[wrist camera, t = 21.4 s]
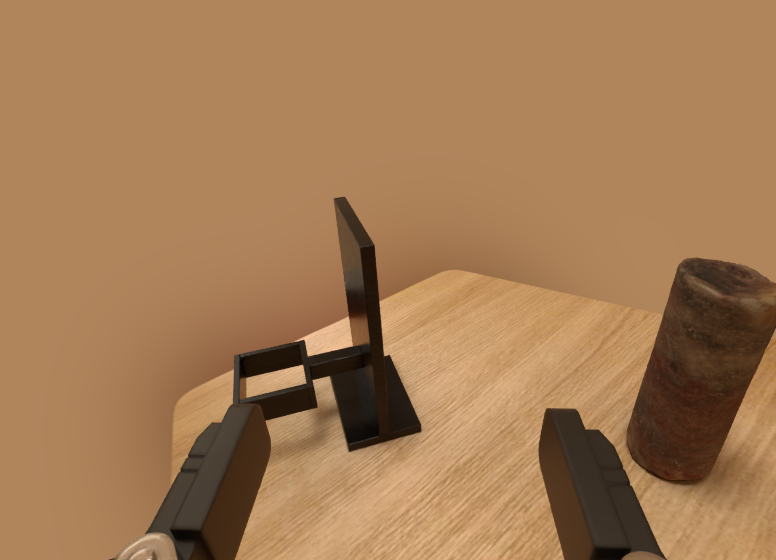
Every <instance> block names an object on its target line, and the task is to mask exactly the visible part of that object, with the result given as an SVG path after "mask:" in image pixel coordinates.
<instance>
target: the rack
mask: <svg viewBox="0 0 776 560" xmlns="http://www.w3.org/2000/svg"><path fill="white" fill-rule="evenodd" d="M334 204H335V212H336V219H337V227H338V235H339V243H340V250H341V258H342V265H343V274H344V281H345V288H346V296H347V304H348V312H349V319H350V327H351V335H352V342H353V347H348V348H344V349H339V350H335V351H331V352H326V353H322V354H318V355H313V356H309V357H308V355H307V350H306V345H305V340H302V341H298V342H293V343H289V344H284V345H280V346H275V347H271V348H266V349H262V350H257V351H253V352H248V353H244V354H239V355H235V356H234V390H233V404H259V405H260V406H261V408H262V412H263V415H264V418H265V421H266V420H270V419H274V418H278V417H282V416H286V415H290V414H294V413H298V412H302V411H305V410H309V409H314V408H317V407H318V406H317V401H316V396H315V391H314V386H313V381H312V380H315V379H319V378H323V377H327V376H330V378H331V382H332V386H333V390H334V394H335V398H336V402H337V406H338V410H339V414H340V418H341V422H342V426H343V430H344V434H345V438H346V442H347V446H348V450H349V451H352V450H355V449H359V448H363V447H366V446H370V445H373V444H377V443H380V442H384V441H388V440H391V439H395V438H398V437H402V436H405V435H409V434H413V433H416V432H420V431H421V424H420V421H419V419H418V417H417V415H416V412H415V410H414V408H413V406H412V404H411V401H410V399H409V397H408V395H407V392H406V390H405V388H404V386H403V384H402V381H401V379H400V377H399V375H398V372H397V370H396V368H395V366H394V364H393V361H392V359H391V357H390V355H388V356H384V351H383V339H382V327H381V315H380V304H379V293H378V280H377V269H376V257H375V245H374V244H373V242H372V240H371V239H370V237H369V235H368V234H367V232H366V230H365V229H364V227H363V225H362V224H361V222H360V221H359V219H358V217H357V216H356V214H355V212H354V211H353V209H352V208H351V206H350V204H349V203H348V201H347V199H346V198H345V197H340V198H335V199H334ZM299 365H303V366H304V372H305V377H306V383H307V384H303V385H299V386H294V387H290V388H286V389H282V390H278V391H274V392H270V393H265V394H261V395H257V396H253V397H249V398H246V378H248V377H252V376H256V375H260V374H265V373H269V372H273V371H278V370H282V369H286V368H291V367H295V366H299Z"/></svg>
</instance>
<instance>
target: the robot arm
mask: <svg viewBox="0 0 776 560" xmlns="http://www.w3.org/2000/svg"><path fill="white" fill-rule="evenodd" d="M270 452H271V440H270V435H269V432H268V429H267V425H266V422H265V418H264V415H263V412H262V408H261V406H260V405H259V404H232V405H231V406H230V407H229V408H228V410H227V412H226V414H225V416H224V418H223V420H222V422H221V423H211V424H210V425H209V426H208V427H207V428H206V429H205V430H204V431H203V432H202V433H201V434H200V435H199V436H198V437H197V439H196V441H195V443H194V445H193V447H192V448H191V450H190V452H189V454H188V458H186V460H185V462H184V464H183V465H182V467H181V472H180V473H178V475H177V477H176V479H175V480H174V482H173V484H172V486H171V488H170V490H169V492H168V494H167V496H166V497H165V499H164V502H163V503H162V505H161V507H160V509H159V511H158V513H157V515H156V516H155V518H154V520H153V522H152V524H151V526H150V527H149V529H148V531H147V532H146V533H145V535H143V536H140V537H138V538H136V539H135V540H133V541H132V542H130V543H129V544H128V545H126V546H125V547H124V548H123V549H122V550H121V551H120V552H119V554H118V555H117V556H116V557H115V558H113V559H110V560H235V557H236V554H237V552H238V549H239V546H240V543H241V540H242V537H243V534H244V531H245V528H246V525H247V522H248V520H249V517H250V514H251V511H252V508H253V505H254V502H255V499H256V496H257V493H258V490H259V487H260V485H261V482H262V479H263V476H264V473H265V470H266V467H267V464H268V461H269V457H270ZM539 462H540V467H541V472H542V475H543V479H544V483H545V487H546V491H547V494H548V498H549V502H550V506H551V510H552V514H553V517H554V521H555V525H556V529H557V533H558V536H559V540H560V544H561V548H562V552H563V556H564V559H565V560H667V559H666V558H665V556H664V555H663V553H662V552H661V550H660V548H659V546H658V544H657V541H656V539H655V537H654V535H653V533H652V530H651V528H650V526H649V524H648V521H647V519H646V517H645V515H644V512H643V510H642V508H641V506H640V503H639V501H638V499H637V497H636V494H635V492H634V490H633V488H632V486H630V481H629V479H628V476H627V474H626V472H625V470H623V465H622V463H621V461H620V458H619V456H618V454H617V452H616V449H615V447H614V446H613V445H612V444H611V443H610V441H609V440H608V439H607V438H606V437H605V436H604V435H603V434H602V433H601V432H600V431H599V430H585V428H584V425H583V422H582V420H581V417H580V415H579V413H578V411H577V410H576V409H557V408H547V409H546V411H545V414H544V420H543V425H542V430H541V436H540V441H539Z"/></svg>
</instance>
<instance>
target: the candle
mask: <svg viewBox="0 0 776 560" xmlns="http://www.w3.org/2000/svg"><path fill="white" fill-rule="evenodd" d="M775 328H776V283H774V282H771V281H770V280H769V279H767V278H766V277H764V276H763V275H761V274H760V273H759V272H758V271H756V270H754V269H751V268H749V267H748V266H745V265H741V264H735V263H730V262H723V261H718V260H708V259H701V258H687V259H685V260H683V261H682V262H681V263H680V264H679V266H678V268H677V272H676V275H675V278H674V281H673V285H672V288H671V291H670V295H669V298H668V302H667V305H666V308H665V311H664V314H663V318H662V322H661V325H660V328H659V331H658V334H657V337H656V341H655V344H654V348H653V350H652V353H651V357H650V360H649V363H648V365H647V369H646V372H645V375H644V378H643V381H642V384H641V387H640V390H639V393H638V396H637V399H636V403H635V406H634V409H633V412H632V416H631V419H630V422H629V426H628V429H627V439H628V444H629V448H630V453H631V455H632V456H633V458H634V459H635V460H636V461H637V462H638V463H639V464H640V465H641V466H642V467H644V468H646V469H647V470H649V471H652V472H654V473H655V474H657V475H659V476H661V477H663V478H666V479H668V480H679V479H683V480H687V479H701V478H702V477H703V476H705V475H707V474H708V473H709V472H710V471H711V469H712V468H713V466H714V463H715V461H716V459H717V457H718V455H719V453H720V451H721V448H722V446H723V444H724V442H725V440H726V437H727V435H728V433H729V430H730V428H731V426H732V423H733V421H734V419H735V416H736V414H737V412H738V409H739V407H740V405H741V403H742V400H743V398H744V396H745V393H746V391H747V389H748V387H749V384H750V382H751V380H752V378H753V376H754V374H755V372H756V370H757V368H758V366H759V363H760V361H761V359H762V357H763V354H764V351H765V349H766V348H767V346H768V344H769V342H770V339H771V337H772V335H773V333H774V330H775Z"/></svg>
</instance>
